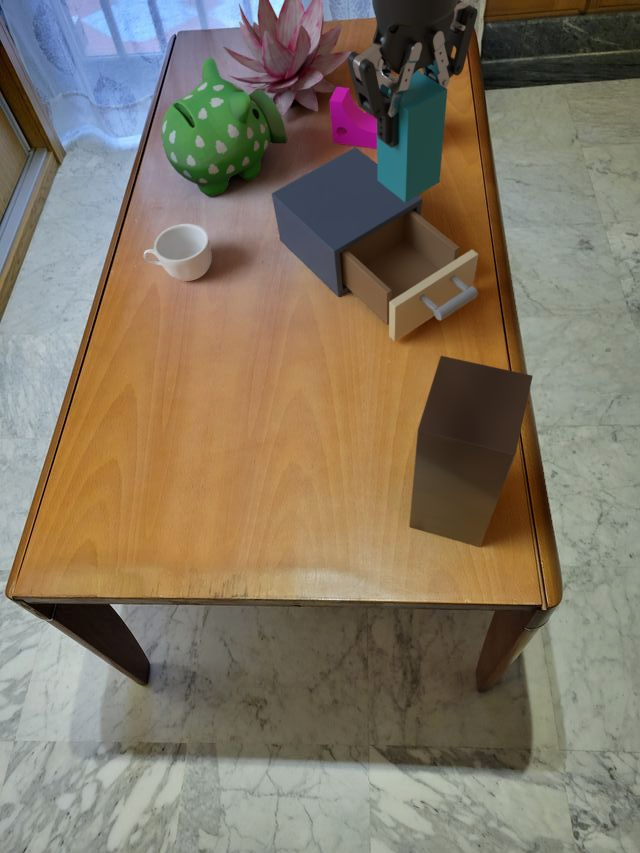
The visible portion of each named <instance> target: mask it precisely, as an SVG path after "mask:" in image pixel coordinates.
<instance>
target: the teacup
mask: <svg viewBox="0 0 640 853" xmlns="http://www.w3.org/2000/svg"><path fill="white" fill-rule="evenodd" d="M148 254H151V255H153V256H155V257H156V258H157V260H156V259H151V258H149V257H148ZM212 256H213V252H212V246H211V242H210V238H209V234H208V232H207V231H206V230H205V228H203V227H202V226H200V225H199V224H194V223H180V224H179V223H178V224H175V225H172V226H169V227H167V228H165V229H164V230H163V231H161V232H160V233H159V235H158V236H157V237H156V239H155V240H154V243H153V248H148V249H146V250H144V252H143V258H144V260H145V261H146V262H147V263H149V264H153V265H156V266H160V267H162V268H163V269H164V271H165V272H166V273H167V274H168V275H169V276H170V277H172V278H173V279H176V280H179V281H182V282H192V281H194V280H198V279H200V278H201V277H203V276H204V275H205V274H206V273H207V272H208V270H209V269H210V267H211V265H212V260H213V258H212Z"/></svg>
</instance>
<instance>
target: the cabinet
mask: <svg viewBox="0 0 640 853" xmlns="http://www.w3.org/2000/svg"><path fill="white" fill-rule="evenodd" d="M271 198H272V203H273V204H272V205H273V209H274V214H275V220H276V225H277V229H278V230H277V231H278V235H279V240H280V242H281V243H282V244H283V245H284V246H285V247H286V248H287V249H289V251H290V252H291V253H293V255H294V256H296V257H297V259H299V260H300V261H301V262H302V263H303V264H304V265H305V266H306V267H307V268H308V269H309V270H310V271H311V272H312V273H313V274H314V275H315V276H316V277H317V278H318V279H319V280H320V281H321V282H322V283H323V284H324V285H325V286H326V287H327V288H328V289H329V290H330V291H331V292H332V293H333V294H335V295H336V296H337V297H338V298H340V297H342V296H343V295H344V294H347V293H348V292H350V291H351V290H350V289H348V288H347V287H346V286H345V285H344V284H343V283H342V273H341V262H340V253H341V252H342V251H344V250H346V249H347V248H349V247H351V246H352V245H354V244H356V243H357V242H359V241H361V240H362V239H364V238H366V237H367V236H369V235H371V234H372V233H374V232H376V231H377V230H379V229H381V228H382V227H384V226H386V225H387V224H389V223H391V222H392V221H394V220H396V219H397V218H399V217H401V216H402V215H404V214H406V213H407V212H409V211H411V210H413V211H415V212H416V213H417V214H418V215H420V216H421V217H422V208H423V207H422V206H423V199H422V198H421V196H419V195H418V196H416V197H414V198H413V199H411V200H409V201H408V202H406V203H405V202H404V201H403V200H401V199H400V198H399V197H398V196H396V195H395V194H394V193H393V192H391V191H390V190H389V189H388V188H386V187H385V186H384V185H383V184H381V183H380V182H379V181H378V173H377V162H376V161H374V160H373V159H372V158H370V157H369V156H368V155H367V154H366V153H364V152H362V150H361V149H359V148H358V147H357V146H354V147H352V148H350V149H349V150H347V151H345V152H344V153H342V154H340V155H338V156H336V157H334V158H332V159H331V160H329V161H327V162H326V163H324V164H322V165H320V166H318V167H316V168H314V169H312V170H311V171H309V172H307V173H305V174H304V175H302V176H300V177H298V178H296V179H295V180H293V181H291V182H289V183H288V184H285V185H284V186H282V187H280V188H278V189H277V190H275V191H273V192H271Z"/></svg>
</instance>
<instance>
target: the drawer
mask: <svg viewBox="0 0 640 853" xmlns="http://www.w3.org/2000/svg"><path fill="white" fill-rule="evenodd" d="M459 254H460V246H459V245H457V244H456V243H455V242H454V241H453V240H451V239H450V238H448V237H447V236H446V235H445V234H443V232H442V231H440V230H438V229H437V228H436V227H435V226H433V225H432V224H431V223H430V222H429V221H428V220H426V219H424V217H422V215H421V216H420V215H418V214H417V213H416V212H415V211H413V210H411V211H409V212H407V213H406V214H404V215H402V216H401V217H399V218H397V219H396V220H394V221H392V222H391V223H389V224H387V225H386V226H384V227H382V228H381V229H379V230H377V231H376V232H374V233H372V234H371V235H369V236H367V237H366V238H364V239H362V240H361V241H359V242H357V243H356V244H354V245H352V246H351V247H349V248H347V249H346V250H344V251H342V252H341V253H340V262H341V273H342V283H343V284H344V285H345V286H346V287H347V288H348V289H350V290H349V291H350V292H352V293H353V295H355V296H356V297H357V298H358V299H359V300H360V301H361V302H362V303H363V304H364V305H365V306H366V307H367V309H369V310H370V311H371V312H372V313H373V314H375V315H376V317H378V319H380V320H381V322H383V323H384V324H385V325H386V326H388V337H389V338H390V339H391V340H392V341H393V342H394V343H395V342H397V341H399V340H401V339H402V338H403V337H405V336H406V335H407V334H409V333H411V332H413V331H414V330H415V329H417V328H418V327H419V326H421V325H423V324H424V323H426V322H427V321H429V320H430V319H432V318H434V317H435V319H436V320H437V321H443V320H444V319H446V318H448V317H449V316H451V315H452V314H453V313H454V312H456V311H458V310H459V309H461V308H462V307H464V306H465V305H467V304H469V303H470V302H471V301H473V300H474V299H476V298H478V297H479V292H478V289H477V288H476V287H475V286H474V282H475V277H476V271H477V266H478V260H479V253H478V252H476V251H475V250H474V249H470V250H468V251H466V253H464V254H462V255H461V256H460V255H459Z"/></svg>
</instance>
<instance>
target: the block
mask: <svg viewBox="0 0 640 853" xmlns="http://www.w3.org/2000/svg"><path fill="white" fill-rule="evenodd" d="M396 77H397V78H398V77H399V76H396ZM390 94H391V90H390V88H389V91H388V95H387V98H388V99H389V97H390ZM447 99H448V88H447V87H446V88H445V87H443V86H441V85H440V84H438V83H437V82H435V81H434V80H432V79H430V78H429V77H427V76H426V75H424V73H423V72H421V71H419V70H417V71H416V72H415V73H414V74H413V75H412V78H411V81H410V85H409V88H408V91H407V92H404V93H403V95H402V99H401V102H400V106H399V109H398V112H397V113H399V138H398V145H396V146H395V147H393V148H391V147H389V146H388V145H387V144H385V143H384V142H383V141H382V140H380V139H379V138H378V136H377V149H376V163H377V173H378V181H379V182H380V183H381V184H383V185H384V186H385V187H386V188H388V189H389V190H390V191H391V192H393V193H394V194H395V195H396V196H398V197H399V198H400V199H401V200H403V201H404V202H405V203H406V202H408V201H409V200H411V199H413V198H414V197H416V196H419V195H421V194H422V193H424V192H426V191H428V190H429V189H431V188H433V187H435V186H436V185H438V184H440V182H441V181H440V180H441V170H442V169H441V168H442V158H443V147H444V134H445V122H446V111H447V101H448V100H447Z"/></svg>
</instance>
